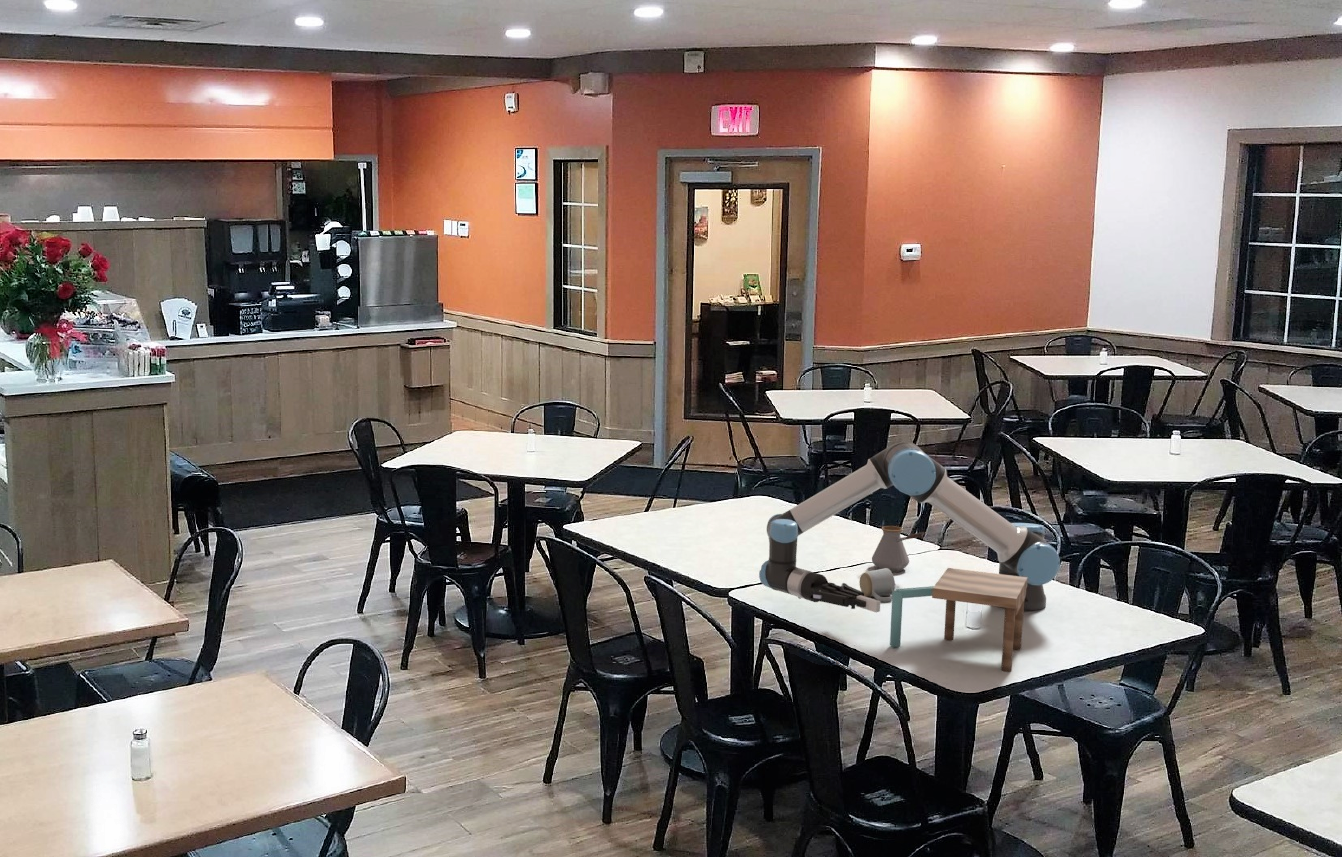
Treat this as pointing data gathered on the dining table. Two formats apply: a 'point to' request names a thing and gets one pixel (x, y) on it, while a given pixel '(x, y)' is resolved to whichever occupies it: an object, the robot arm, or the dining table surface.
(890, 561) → the coffee pot
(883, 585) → the ceramic mug
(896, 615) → the folding leg
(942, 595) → the stool
